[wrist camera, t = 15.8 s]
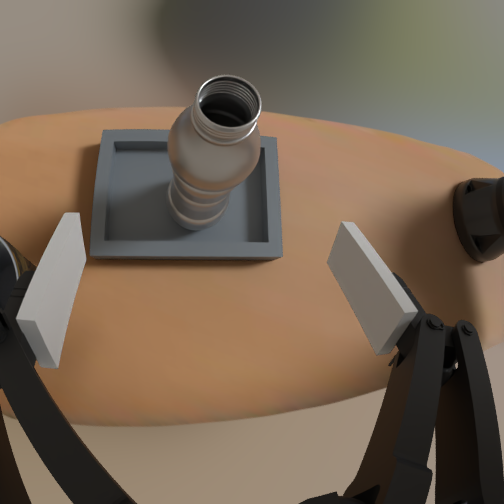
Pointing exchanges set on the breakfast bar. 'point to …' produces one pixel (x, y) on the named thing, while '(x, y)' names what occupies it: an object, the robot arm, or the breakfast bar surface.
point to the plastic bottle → (212, 150)
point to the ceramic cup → (10, 269)
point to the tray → (156, 212)
